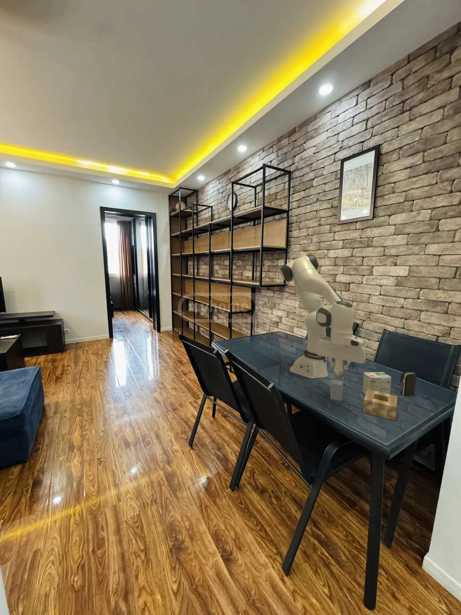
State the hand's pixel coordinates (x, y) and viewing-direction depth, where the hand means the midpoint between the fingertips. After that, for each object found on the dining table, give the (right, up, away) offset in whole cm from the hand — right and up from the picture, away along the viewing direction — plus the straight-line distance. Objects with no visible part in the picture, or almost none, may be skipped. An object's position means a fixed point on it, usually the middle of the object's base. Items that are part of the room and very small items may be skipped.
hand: (338, 368), depth 115 cm
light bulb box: (+25, -17, +15) cm, 34 cm away
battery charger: (+42, -17, +16) cm, 48 cm away
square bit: (+4, -17, +12) cm, 21 cm away
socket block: (+19, -19, +1) cm, 27 cm away
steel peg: (0, -4, +1) cm, 4 cm away
